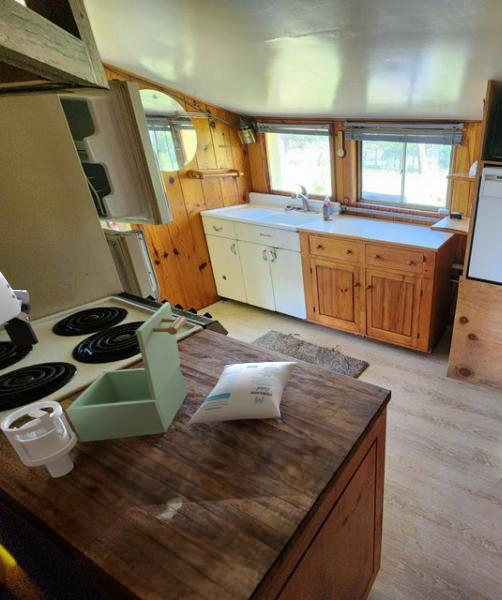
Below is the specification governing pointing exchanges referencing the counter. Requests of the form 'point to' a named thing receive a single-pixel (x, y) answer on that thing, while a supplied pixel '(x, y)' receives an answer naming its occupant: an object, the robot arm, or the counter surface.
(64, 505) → the counter surface
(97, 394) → the box
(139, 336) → the lid
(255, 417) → the pouch
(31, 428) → the white cylindrical piece
